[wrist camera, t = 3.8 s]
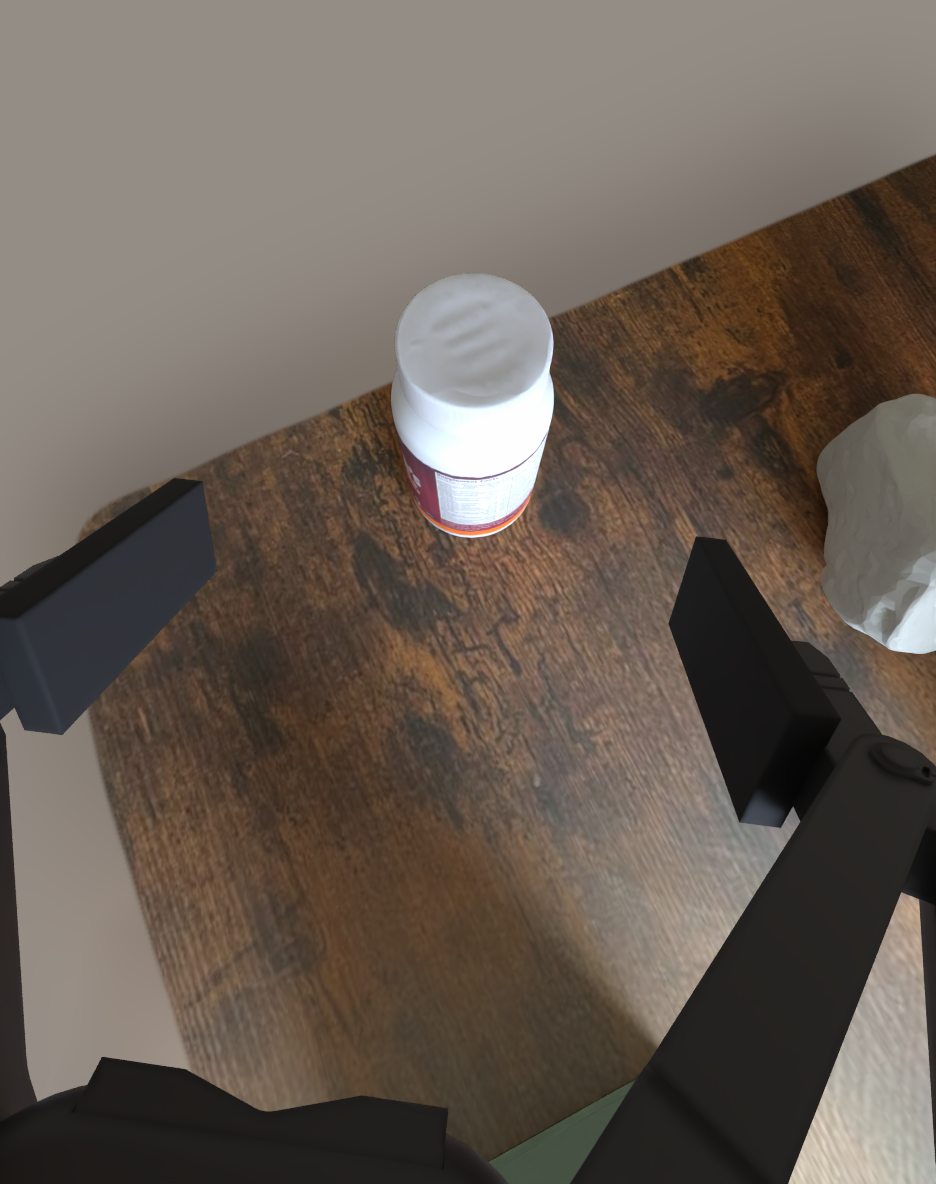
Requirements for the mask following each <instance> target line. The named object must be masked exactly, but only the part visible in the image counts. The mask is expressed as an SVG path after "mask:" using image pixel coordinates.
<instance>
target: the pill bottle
mask: <svg viewBox="0 0 936 1184" xmlns="http://www.w3.org/2000/svg"><path fill="white" fill-rule="evenodd" d="M552 353H553V335H552V329H551V326H550V323H549V319H548V317H547V315H546V313H545V311H544V310H543V308H542V307H541V305H540V304H539V303H538V301H537V300H536V299H535V298H534V297H533V296H532V295H531V294H530V293H529V292H527V291H526V290H525V289H523V288H522V287H520V286H518V285H517V284H515V283H513V282H511V281H509V280H507V279H504V278H501V277H498V276H494V275H489V274H481V273H466V274H458V275H453V276H449V277H446V278H443V279H440V280H438V281H436V282H434V283H432V284H431V285H429V286H427V287H425V288H424V289H423V290H422V291H420V292H419V293H418V294H416V295H415V297H414V298H412V300H411V301H410V302H409V303H408V305H407V306H406V308H405V309H404V311H403V312H402V314H401V317H400V319H399V321H398V325H397V328H396V334H395V354H396V360H397V366H398V368H397V370H396V373H395V376H394V380H393V384H392V391H391V405H392V413H393V419H394V423H395V427H396V430H397V434H398V437H399V441H400V445H401V450H402V454H403V458H404V463H405V467H406V472H407V475H408V480H409V484H410V488H411V492H412V495H413V498H414V501H415V503H416V505H417V507H418V509H419V510H420V512H421V513H422V514H423V515H424V517H425V518H426V519H427V520H428V521H429V522H430V523H432V524H433V525H434V526H436V527H437V528H439V529H441V530H443V531H445V532H447V533H449V534H452V535H455V536H461V537H482V536H487V535H491V534H494V533H496V532H499V531H501V530H503V529H504V528H506V527H507V526H509V525H510V524H511V523H513V522H514V521H515V520H516V519H517V518H518V517H519V516H520V514H521V513H522V512H523V510H524V509H525V507H526V505H527V503H528V501H529V499H530V496H531V493H532V490H533V487H534V483H535V479H536V475H537V472H538V468H539V464H540V460H541V457H542V453H543V449H544V445H545V442H546V438H547V434H548V430H549V427H550V422H551V419H552V414H553V405H554V391H553V384H552V380H551V376H550V373H549V369H550V364H551V359H552Z"/></svg>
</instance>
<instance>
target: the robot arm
mask: <svg viewBox="0 0 936 1184" xmlns="http://www.w3.org/2000/svg"><path fill="white" fill-rule="evenodd" d="M216 571H217V568H216V562H215V556H214V549H213V543H212V537H211V531H210V525H209V519H208V513H207V507H206V501H205V495H204V489H203V483H202V481H195V480H186V479H177V478H174V479H172V480H171V481H169V482H168V483H166V484H165V485H163V486H162V487H161V488H159V489H158V490H156V491H155V492H153V493H152V494H150V495H149V496H147V497H146V498H144V499H143V500H141V501H140V502H138V503H137V504H135V505H134V506H132V507H131V508H129V509H128V510H126V511H125V512H123V513H122V514H120V515H119V516H118V517H116V518H115V519H113V520H112V521H110V522H109V523H107V524H106V525H104V526H103V527H101V528H100V529H98V530H97V531H95V532H94V533H92V534H91V535H89V536H88V537H86V538H85V539H83V540H82V541H80V542H79V543H77V544H76V545H75V546H73V547H72V548H70V549H69V550H67V551H66V552H64V553H63V554H61V555H60V556H57V557H54V558H52V559H49V560H47V561H44V562H41V563H39V564H36V565H33V566H32V567H30V568H29V569H28V570H26V571H24V572H23V573H21V574H20V575H18V576H17V577H15V578H14V581H9V582H7V583H6V584H4V585H3V586H1V587H0V720H1V719H2V718H3V717H4V716H5V715H6V714H8V713H9V712H10V711H11V710H12V709H13V708H14V707H15V709H16V712H17V714H18V716H19V719H20V720H21V723H22V725H23V728H24V730H28V731H35V732H43V733H52V734H59V735H63V734H64V732H65V731H66V730H67V729H68V728H69V727H70V726H71V725H72V724H73V723H74V722H75V721H76V720H77V719H78V718H79V717H80V716H81V714H82V713H83V712H84V711H85V710H86V709H87V708H88V707H89V706H90V705H91V704H92V703H93V702H94V701H95V700H96V699H97V698H98V696H99V695H100V694H101V693H102V692H103V691H104V690H105V689H106V688H107V687H108V686H109V685H110V684H111V683H112V682H113V681H114V680H115V678H116V677H117V676H118V675H119V674H120V673H121V672H122V671H123V670H124V669H125V668H126V667H127V666H128V665H129V664H130V663H131V661H132V660H133V659H134V658H135V657H136V656H137V655H138V654H139V653H140V652H141V651H142V650H143V649H144V648H145V647H146V646H147V644H148V643H149V642H150V641H151V640H152V639H153V638H154V637H155V636H156V635H157V634H158V633H159V632H160V631H161V630H162V629H163V628H164V626H165V625H166V624H167V623H168V622H169V621H170V620H171V619H172V618H173V617H174V616H175V615H176V614H177V613H178V612H179V611H180V609H181V608H182V607H183V606H184V605H185V604H186V603H187V602H188V601H189V600H190V599H191V598H192V597H193V596H194V595H195V594H196V593H197V591H198V590H199V589H200V588H201V587H202V586H203V585H204V584H205V583H206V582H207V581H208V580H209V579H210V578H211V577H212V576H213V574H214V573H215V572H216ZM669 626H670V629H671V632H672V635H673V637H674V640H675V643H676V646H677V649H678V651H679V654H680V657H681V660H682V663H683V665H684V668H685V671H686V674H687V677H688V679H689V682H690V685H691V688H692V691H693V693H694V696H695V699H696V702H697V705H698V708H699V710H700V713H701V716H702V719H703V722H704V724H705V727H706V730H707V733H708V736H709V738H710V741H711V744H712V747H713V750H714V752H715V755H716V758H717V761H718V764H719V766H720V769H721V772H722V775H723V778H724V780H725V783H726V786H727V789H728V792H729V794H730V797H731V800H732V803H733V806H734V808H735V811H736V814H737V817H738V820H739V822H741V823H748V824H756V825H764V826H772V827H779V828H781V826H782V825H783V823H784V821H785V819H786V818H787V816H788V814H789V812H790V810H791V809H792V807H794V809H795V811H796V813H797V815H798V817H799V820H800V824H799V825H798V827H797V828H796V830H795V832H794V833H793V835H792V836H791V838H790V839H789V841H788V843H787V844H786V846H785V847H784V849H783V851H782V852H781V854H780V855H779V857H778V858H777V860H776V862H775V863H774V865H773V866H772V868H771V870H770V871H769V873H768V874H767V876H766V877H765V879H764V881H763V882H762V884H761V885H760V887H759V889H758V890H757V892H756V893H755V895H754V896H753V898H752V900H751V901H750V903H749V904H748V906H747V908H746V909H745V911H744V912H743V914H742V915H741V917H740V919H739V920H738V922H737V923H736V925H735V927H734V928H733V930H732V931H731V933H730V934H729V936H728V938H727V939H726V941H725V942H724V944H723V946H722V947H721V949H720V950H719V952H718V953H717V955H716V957H715V958H714V960H713V961H712V963H711V965H710V966H709V968H708V969H707V971H706V972H705V974H704V976H703V977H702V979H701V980H700V982H699V984H698V985H697V987H696V988H695V990H694V991H693V993H692V995H691V996H690V998H689V999H688V1001H687V1003H686V1004H685V1006H684V1007H683V1009H682V1011H681V1012H680V1014H679V1015H678V1017H677V1018H676V1020H675V1022H674V1023H673V1025H672V1026H671V1028H670V1030H669V1031H668V1033H667V1034H666V1036H665V1037H664V1039H663V1041H662V1042H661V1044H660V1045H659V1047H658V1049H657V1050H656V1052H655V1053H654V1055H653V1056H652V1058H651V1059H650V1061H649V1062H648V1064H647V1065H646V1066H645V1067H644V1069H643V1070H642V1072H641V1073H640V1075H639V1076H638V1077H637V1079H636V1081H635V1082H634V1084H633V1085H632V1087H631V1088H630V1090H629V1091H628V1093H627V1095H626V1096H625V1098H624V1099H623V1101H622V1102H621V1104H620V1106H619V1107H618V1109H617V1110H616V1112H615V1113H614V1115H613V1117H612V1118H611V1120H610V1121H609V1123H608V1125H607V1126H606V1128H605V1129H604V1131H603V1132H602V1134H601V1136H600V1137H599V1139H598V1140H597V1142H596V1143H595V1145H594V1147H593V1148H592V1150H591V1151H590V1153H589V1154H588V1156H587V1158H586V1159H585V1161H584V1162H583V1164H582V1166H581V1167H580V1169H579V1170H578V1172H577V1173H576V1175H575V1177H574V1178H573V1180H572V1181H571V1183H570V1184H788V1183H789V1180H790V1177H791V1174H792V1172H793V1169H794V1166H795V1164H796V1161H797V1159H798V1156H799V1154H800V1151H801V1148H802V1146H803V1143H804V1141H805V1138H806V1136H807V1133H808V1130H809V1128H810V1125H811V1123H812V1120H813V1118H814V1115H815V1112H816V1110H817V1107H818V1105H819V1102H820V1100H821V1097H822V1094H823V1092H824V1089H825V1087H826V1084H827V1082H828V1079H829V1076H830V1074H831V1071H832V1069H833V1066H834V1064H835V1061H836V1058H837V1056H838V1053H839V1051H840V1048H841V1046H842V1043H843V1040H844V1038H845V1035H846V1033H847V1030H848V1028H849V1025H850V1022H851V1020H852V1017H853V1015H854V1012H855V1010H856V1007H857V1004H858V1002H859V999H860V997H861V994H862V992H863V989H864V986H865V984H866V981H867V979H868V976H869V974H870V971H871V968H872V966H873V963H874V961H875V958H876V956H877V953H878V950H879V948H880V945H881V943H882V940H883V937H884V935H885V932H886V930H887V927H888V925H889V922H890V919H891V917H892V914H893V912H894V909H895V907H896V904H897V901H898V899H899V896H900V894H901V892H903V893H905V894H908V895H910V896H913V897H915V898H918V899H919V903H920V919H921V935H922V952H923V968H924V984H925V1000H926V1016H927V1033H928V1049H929V1065H930V1081H931V1097H932V1114H933V1130H934V1146H935V1162H936V767H935V765H934V764H933V763H932V762H931V761H930V760H929V759H927V758H926V757H925V756H924V755H923V754H922V753H921V752H919V751H917V750H916V749H914V748H912V747H911V746H909V745H908V744H906V743H904V742H901V741H899V740H896V739H894V738H891V737H889V736H885V735H882V734H881V732H880V731H879V729H878V728H877V727H876V725H875V724H874V722H873V721H872V719H871V718H870V717H869V715H868V714H867V712H866V711H865V710H864V708H863V707H862V705H861V704H860V703H859V701H858V700H857V698H856V697H855V695H854V694H853V693H852V692H849V690H850V688H849V687H848V686H847V684H846V683H845V681H844V680H843V678H840V674H839V673H838V671H837V670H836V669H835V667H834V666H833V664H832V663H831V661H830V660H829V659H828V658H827V657H826V656H825V655H823V654H822V653H821V652H820V651H818V650H817V649H816V648H815V647H813V646H812V645H811V644H809V643H808V642H799V641H791V640H790V638H789V637H788V635H787V634H786V632H785V631H784V629H783V628H782V626H781V624H780V623H779V621H778V620H777V618H776V617H775V615H774V614H773V612H772V611H771V609H770V607H769V606H768V604H767V603H766V601H765V600H764V598H763V597H762V595H761V593H760V592H759V590H758V589H757V587H756V586H755V584H754V583H753V581H752V580H751V578H750V576H749V575H748V573H747V572H746V570H745V569H744V567H743V566H742V564H741V562H740V561H739V559H738V558H737V556H736V555H735V553H734V552H733V550H732V549H731V547H730V545H729V544H728V542H727V541H726V540H723V539H714V538H705V537H696V538H695V542H694V545H693V548H692V551H691V554H690V557H689V561H688V564H687V567H686V570H685V573H684V576H683V580H682V583H681V586H680V589H679V592H678V596H677V599H676V602H675V605H674V608H673V611H672V615H671V618H670V621H669ZM13 859H14V858H13V842H12V827H11V811H10V796H9V780H8V764H7V749H6V735H5V732H4V730H3V728H2V726H1V724H0V1184H508V1182H507V1181H506V1180H505V1178H504V1177H503V1176H502V1175H501V1174H500V1173H499V1172H498V1171H497V1170H496V1169H495V1168H494V1167H493V1166H492V1165H491V1164H490V1163H489V1162H488V1161H487V1160H486V1159H485V1158H484V1157H482V1156H481V1155H480V1154H478V1153H477V1152H476V1151H474V1150H473V1149H472V1148H471V1147H469V1146H468V1145H467V1144H465V1143H463V1142H462V1141H460V1140H458V1139H456V1138H454V1137H452V1136H451V1135H449V1134H447V1133H446V1128H447V1117H448V1108H442V1107H435V1106H428V1105H422V1104H415V1103H408V1102H402V1101H395V1100H388V1099H381V1098H375V1097H368V1096H357V1097H352V1098H346V1099H340V1100H335V1101H329V1102H323V1103H318V1104H312V1105H307V1106H301V1107H295V1108H290V1109H284V1110H278V1111H271V1112H266V1111H261V1110H258V1109H256V1108H254V1107H252V1106H250V1105H249V1104H247V1103H245V1102H243V1101H241V1100H240V1099H238V1098H236V1097H234V1096H233V1095H231V1094H229V1093H227V1092H225V1091H224V1090H222V1089H220V1088H218V1087H216V1086H215V1085H213V1084H211V1083H209V1082H207V1081H206V1080H204V1079H202V1078H200V1077H198V1076H197V1075H195V1074H193V1073H191V1072H190V1071H188V1070H186V1069H180V1068H174V1067H167V1066H160V1065H153V1064H147V1063H140V1062H133V1061H127V1060H120V1059H112V1058H107V1057H102V1058H101V1060H100V1062H99V1064H98V1066H97V1068H96V1070H95V1071H94V1073H93V1075H92V1077H91V1079H90V1081H89V1083H88V1085H85V1086H80V1087H77V1088H73V1089H70V1090H67V1091H64V1092H60V1093H57V1094H54V1095H52V1096H50V1097H47V1098H45V1099H43V1100H41V1101H38V1102H37V1099H36V1096H35V1093H34V1090H33V1086H32V1083H31V1080H30V1076H29V1072H28V1067H27V1058H26V1045H25V1030H24V1014H23V998H22V983H21V967H20V952H19V936H18V921H17V906H16V890H15V874H14V860H13Z"/></svg>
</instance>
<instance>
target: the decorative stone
mask: <svg viewBox="0 0 936 1184" xmlns="http://www.w3.org/2000/svg"><path fill="white" fill-rule="evenodd" d="M816 468H817V476H818V480H819V483H820V485H821V492H822V494H823V497H824V499H825V503H826V505H827V508H828V527H827V532H826V538H825V544H824V559H825V561H826V564H827V565H826V566H825V567H824V569H823V570H822V573H821V584H822V588H823V592H824V594H825V596H826V598H827V599H828V601H829V603H830V605H831V606H832V608H833V609H834V610H835V611H836V613H837V614H838V615H839V616H840V617H841V618H842V619H843V621H844V622H845V623H847V624H848V625H850V626H851V627H852V628H854V629H857V630H859V631H861V632H863V633H865V634H867V635H869V636H871V637H872V638H873V639H875V640H876V641H878V642H879V643H881V644H882V645H884V646H885V647H887V648H888V649H889V650H893V651H898V652H908V653H915V654H925V653H929V652H932V651H936V398H933V397H930V396H926V395H923V394H910V395H906V396H903V397H901V398H898V399H896V400H890V401H887V402H883V403H880V404H878V405H877V406H876V407H875V408H873V409H872V410H871V411H870V412H869V413H868V414H866V415H865V416H863V417H861V418H859V419H858V420H857V421H856V422H854V423H852V424H851V425H850V426H848V427H847V428H846V429H845V430H844V431H843V432H841V433H840V434H839V435H838V436H837V437H836V438H834V439H833V440H832V441H831V442H830V443H829V444H828V445H827V446H826V447H825V448H824V449H823V450H822V452H821V453H820V455H819V458H818V462H817V466H816Z"/></svg>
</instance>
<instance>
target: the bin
mask: <svg viewBox="0 0 936 1184" xmlns="http://www.w3.org/2000/svg"><path fill="white" fill-rule="evenodd" d="M635 1081H636V1079H635V1080H633V1081H632V1082H630V1083H628V1084H626V1085H625V1086H623V1087H621V1088H619V1089H617V1090H616V1091H614V1092H612V1093H610V1094H609V1095H607V1096H605V1097H603V1098H601V1099H600V1100H598V1101H596V1102H594V1103H593V1104H591V1105H589V1106H587V1107H585V1108H584V1109H582V1110H580V1111H578V1112H577V1113H575V1114H573V1115H571V1116H569V1117H568V1118H566V1119H564V1120H562V1121H561V1122H559V1123H557V1124H555V1125H553V1126H552V1127H550V1128H548V1129H546V1130H545V1131H543V1132H541V1133H539V1134H537V1135H536V1136H534V1137H532V1138H530V1139H529V1140H527V1141H525V1142H523V1143H521V1144H520V1145H518V1146H516V1147H514V1148H513V1149H511V1150H509V1151H507V1152H505V1153H504V1154H502V1155H500V1156H498V1157H497V1158H495V1159H493V1160H491V1161H489V1163H490V1164H491V1165H492V1166H493V1167H494V1168H495V1169H496V1170H497V1171H498V1172H499V1173H500V1174H501V1175H502V1176H503V1177H504V1178H505V1180H506V1181H507V1182H508V1184H570V1183H571V1181H572V1180H573V1178H574V1177H575V1175H576V1173H577V1172H578V1170H579V1169H580V1167H581V1166H582V1164H583V1162H584V1161H585V1159H586V1158H587V1156H588V1154H589V1153H590V1151H591V1150H592V1148H593V1147H594V1145H595V1143H596V1142H597V1140H598V1139H599V1137H600V1136H601V1134H602V1132H603V1131H604V1129H605V1128H606V1126H607V1125H608V1123H609V1121H610V1120H611V1118H612V1117H613V1115H614V1113H615V1112H616V1110H617V1109H618V1107H619V1106H620V1104H621V1102H622V1101H623V1099H624V1098H625V1096H626V1095H627V1093H628V1091H629V1090H630V1088H631V1087H632V1085H633V1084H634V1082H635Z"/></svg>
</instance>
